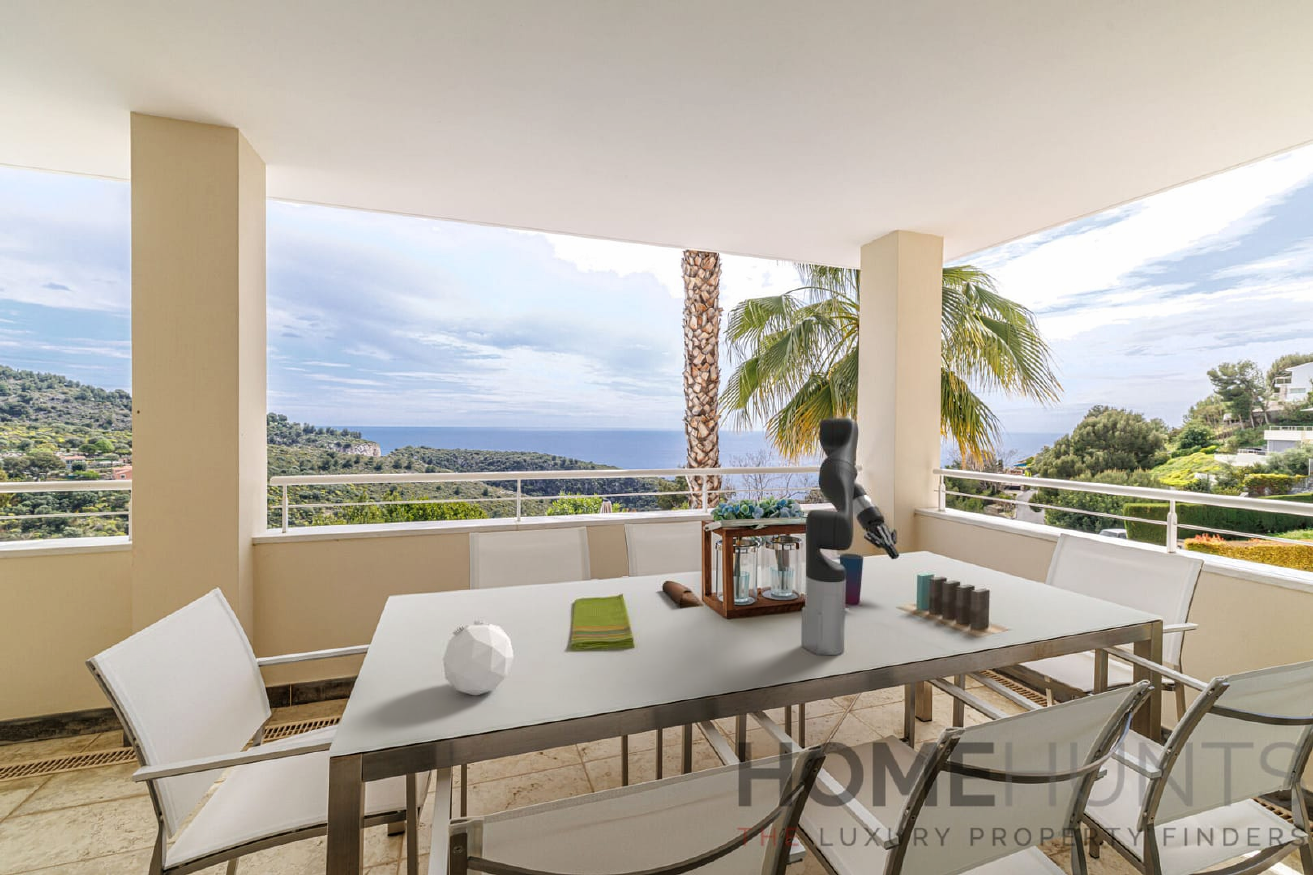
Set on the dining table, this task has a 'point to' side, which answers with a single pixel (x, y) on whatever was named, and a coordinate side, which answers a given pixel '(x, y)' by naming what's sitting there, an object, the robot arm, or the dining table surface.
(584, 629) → the dish towel
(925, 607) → the domino
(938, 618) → the board
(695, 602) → the sunglasses case
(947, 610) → the domino
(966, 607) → the domino
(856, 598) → the cup
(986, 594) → the domino
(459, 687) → the geodesic sphere
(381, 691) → the dining table surface
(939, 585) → the domino
